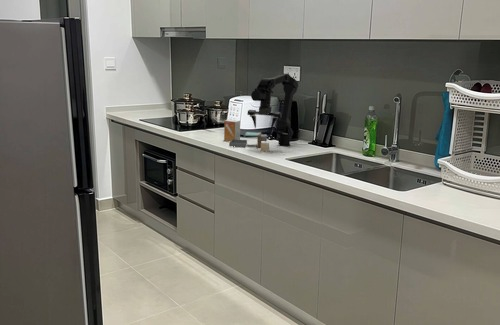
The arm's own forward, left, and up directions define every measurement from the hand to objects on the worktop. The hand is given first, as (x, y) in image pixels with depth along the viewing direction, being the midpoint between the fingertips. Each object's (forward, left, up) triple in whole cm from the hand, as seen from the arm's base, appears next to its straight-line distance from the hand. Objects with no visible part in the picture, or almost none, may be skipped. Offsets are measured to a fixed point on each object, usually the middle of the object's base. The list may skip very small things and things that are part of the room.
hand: (263, 128), depth 273 cm
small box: (+21, -26, -13) cm, 35 cm away
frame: (+1, -13, -13) cm, 18 cm away
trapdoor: (+5, -13, -9) cm, 16 cm away
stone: (-1, 0, -13) cm, 13 cm away
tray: (+16, -13, -13) cm, 24 cm away
